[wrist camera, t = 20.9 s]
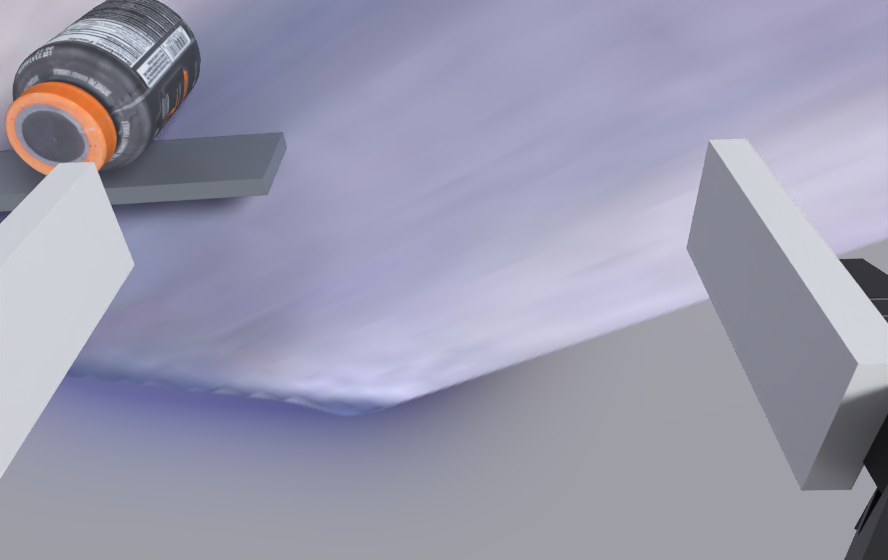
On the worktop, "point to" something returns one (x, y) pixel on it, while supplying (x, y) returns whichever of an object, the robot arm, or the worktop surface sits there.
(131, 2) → the pill bottle
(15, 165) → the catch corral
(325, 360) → the worktop surface
